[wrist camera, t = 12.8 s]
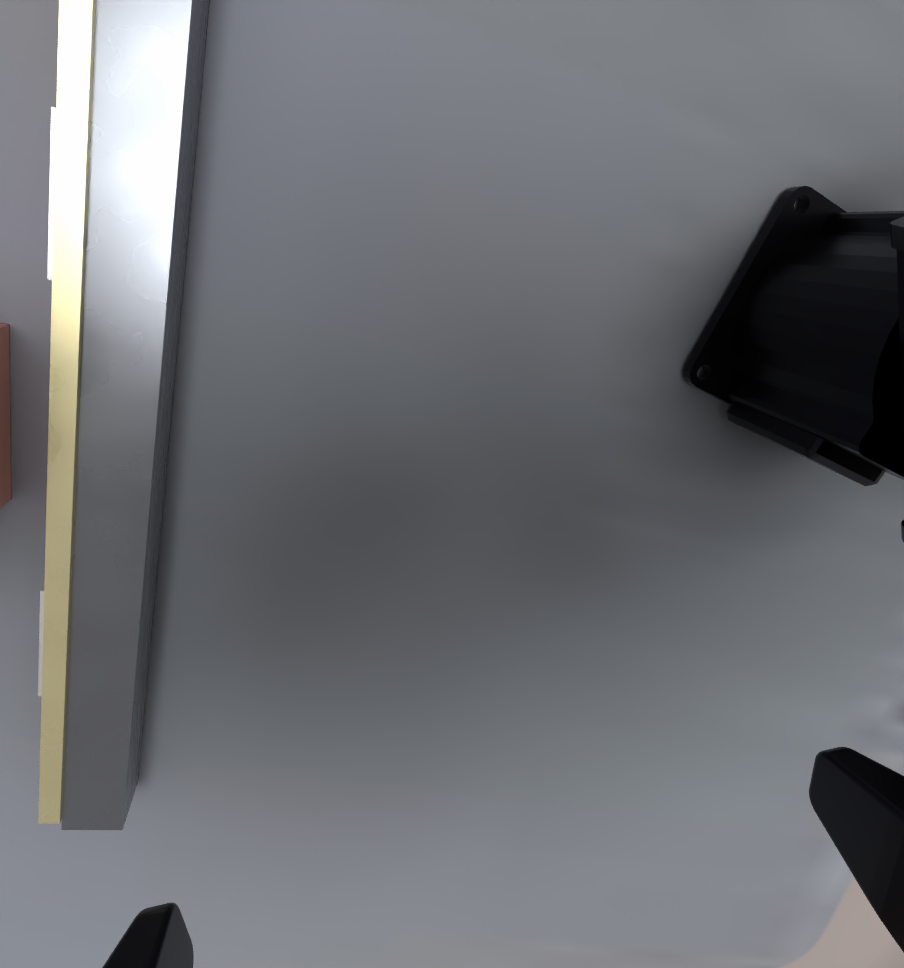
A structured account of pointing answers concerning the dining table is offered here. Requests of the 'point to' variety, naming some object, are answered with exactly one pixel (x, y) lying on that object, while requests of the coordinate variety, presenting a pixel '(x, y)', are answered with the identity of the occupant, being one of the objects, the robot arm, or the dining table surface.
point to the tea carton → (5, 416)
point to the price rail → (111, 381)
